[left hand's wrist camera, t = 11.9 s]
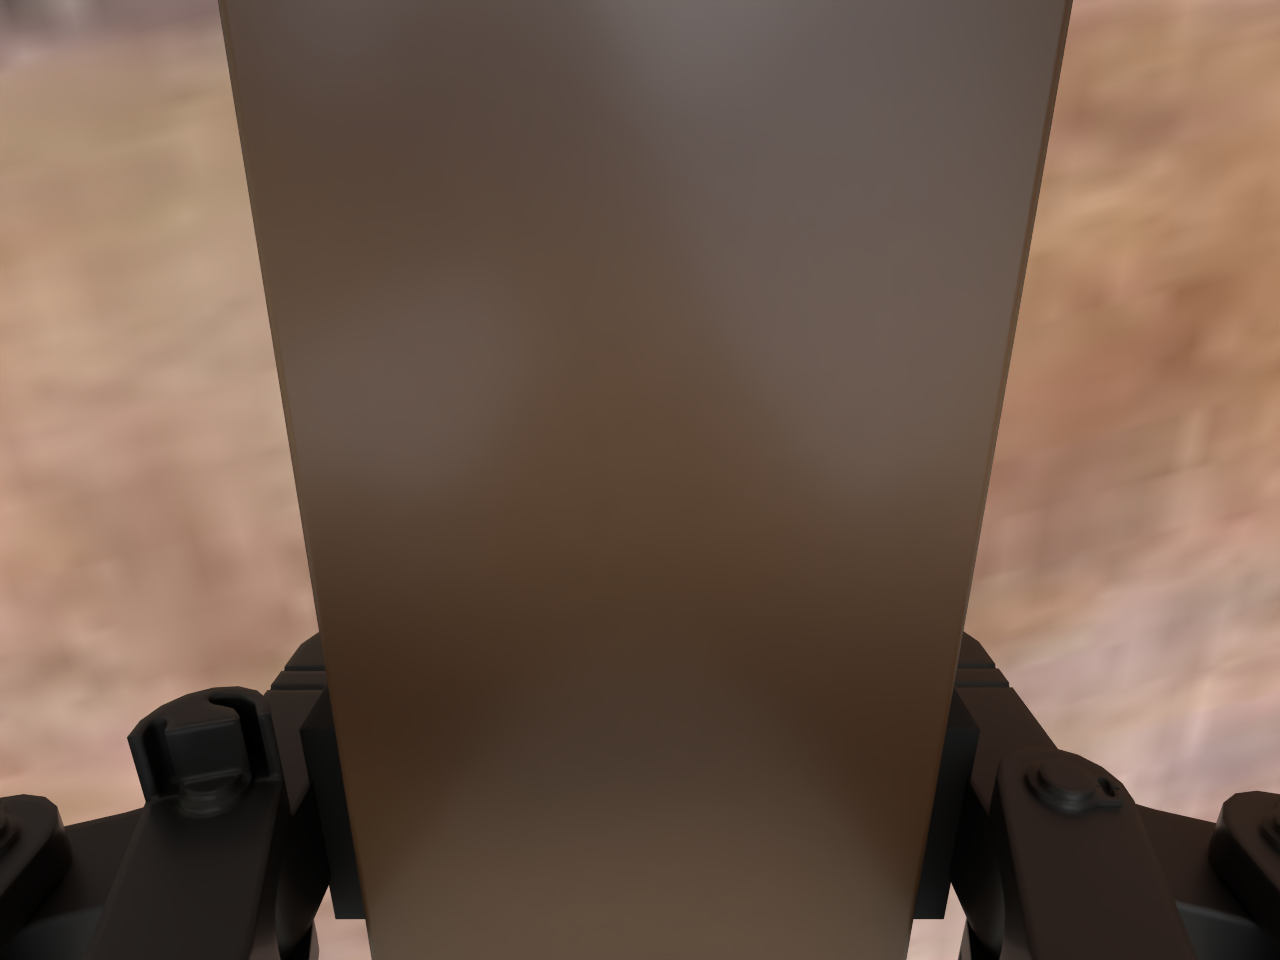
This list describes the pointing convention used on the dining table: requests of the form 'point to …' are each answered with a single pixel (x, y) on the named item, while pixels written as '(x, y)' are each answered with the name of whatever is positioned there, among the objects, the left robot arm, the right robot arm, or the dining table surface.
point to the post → (642, 443)
